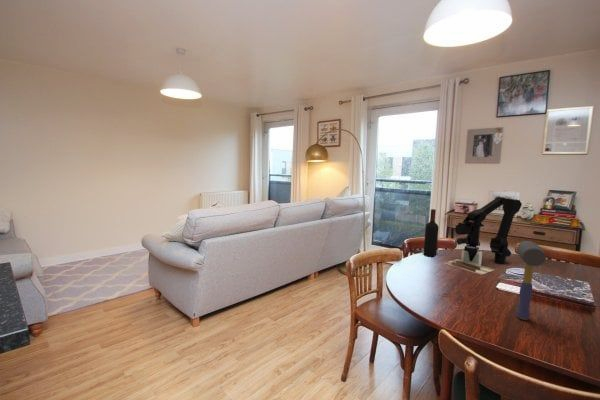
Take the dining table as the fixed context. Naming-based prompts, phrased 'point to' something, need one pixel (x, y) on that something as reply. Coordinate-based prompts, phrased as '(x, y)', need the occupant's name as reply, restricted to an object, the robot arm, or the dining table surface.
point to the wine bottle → (431, 236)
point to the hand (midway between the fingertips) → (471, 260)
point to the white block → (475, 261)
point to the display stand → (469, 267)
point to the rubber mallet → (528, 274)
